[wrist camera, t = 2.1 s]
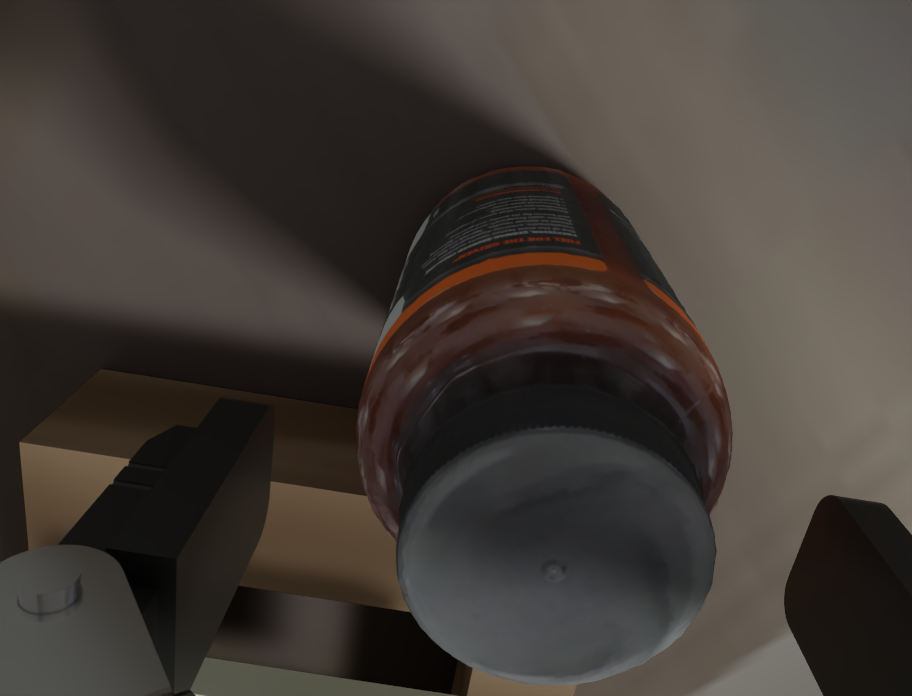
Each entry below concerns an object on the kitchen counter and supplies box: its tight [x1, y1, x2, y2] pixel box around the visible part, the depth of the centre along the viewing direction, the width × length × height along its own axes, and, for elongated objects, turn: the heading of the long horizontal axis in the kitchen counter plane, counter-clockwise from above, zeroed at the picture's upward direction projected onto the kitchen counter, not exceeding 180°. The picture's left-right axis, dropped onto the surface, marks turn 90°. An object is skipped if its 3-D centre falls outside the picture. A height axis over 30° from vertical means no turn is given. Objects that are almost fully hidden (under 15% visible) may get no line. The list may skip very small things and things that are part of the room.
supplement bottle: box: [356, 166, 733, 686], centre depth 15 cm, size 6×6×11 cm
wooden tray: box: [19, 369, 576, 696], centre depth 23 cm, size 15×14×4 cm
